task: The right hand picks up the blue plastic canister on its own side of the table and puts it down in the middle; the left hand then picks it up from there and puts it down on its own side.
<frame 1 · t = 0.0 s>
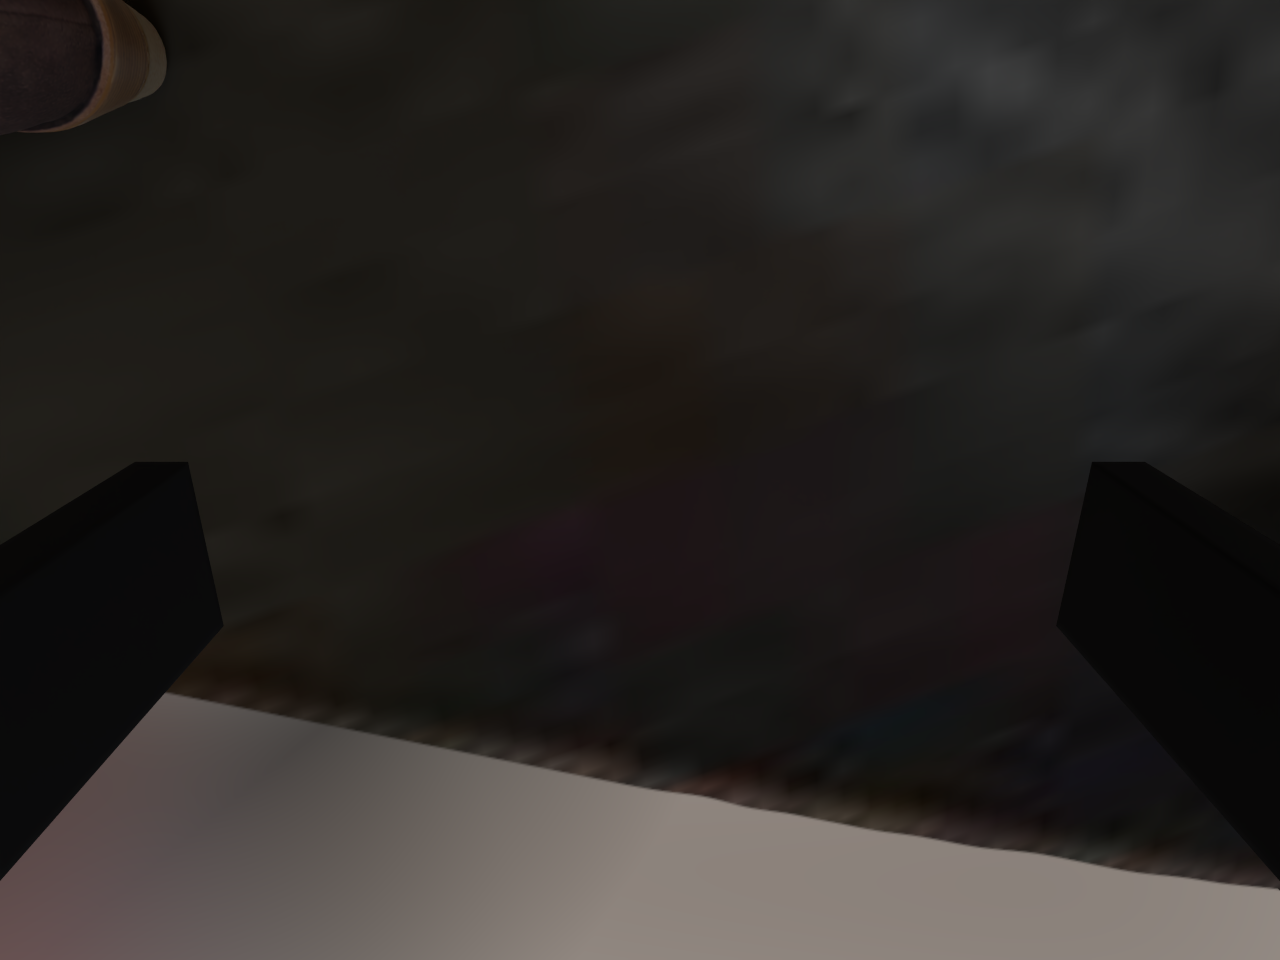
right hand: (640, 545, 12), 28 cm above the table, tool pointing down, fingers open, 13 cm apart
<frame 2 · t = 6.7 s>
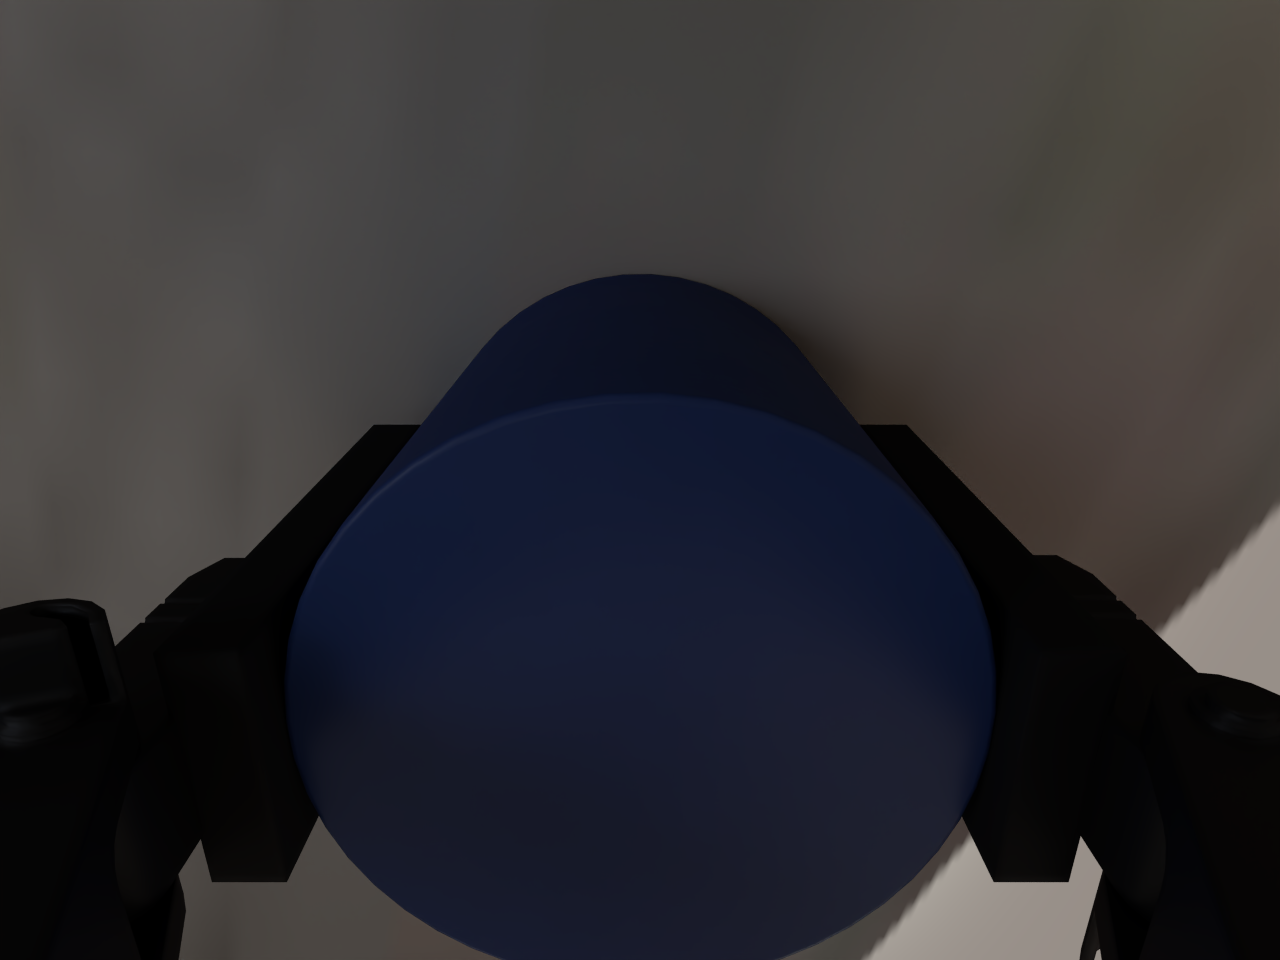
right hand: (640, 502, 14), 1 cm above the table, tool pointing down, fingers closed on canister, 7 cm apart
canister: (640, 472, 15), on the table, touching right hand
when the right hand's fingers open (2 cm above the table, at t = 11.7 s): canister drops 1 cm, on the table.
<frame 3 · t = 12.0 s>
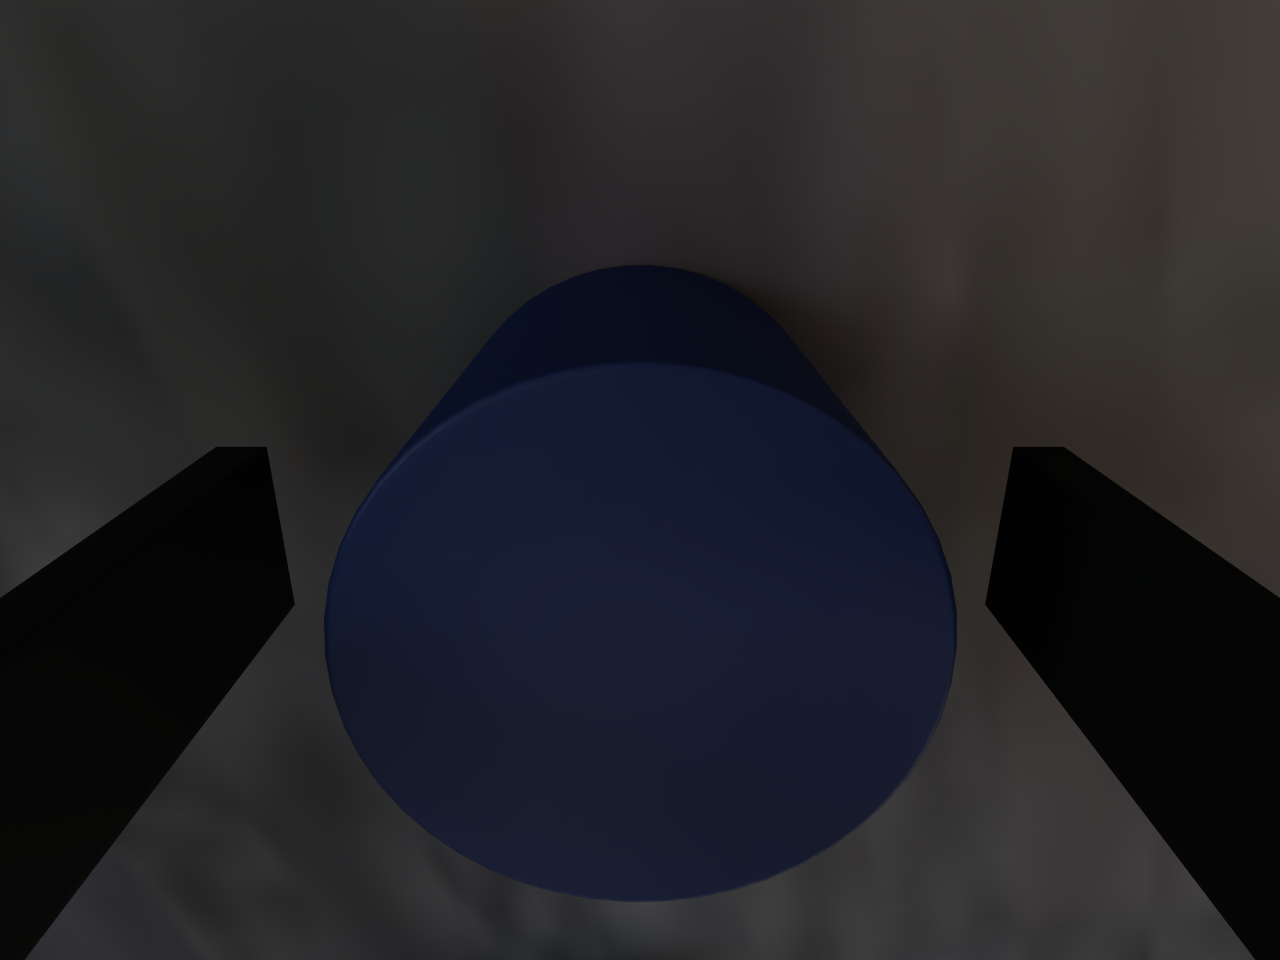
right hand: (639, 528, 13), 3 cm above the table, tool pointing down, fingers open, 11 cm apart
canister: (640, 451, 16), on the table
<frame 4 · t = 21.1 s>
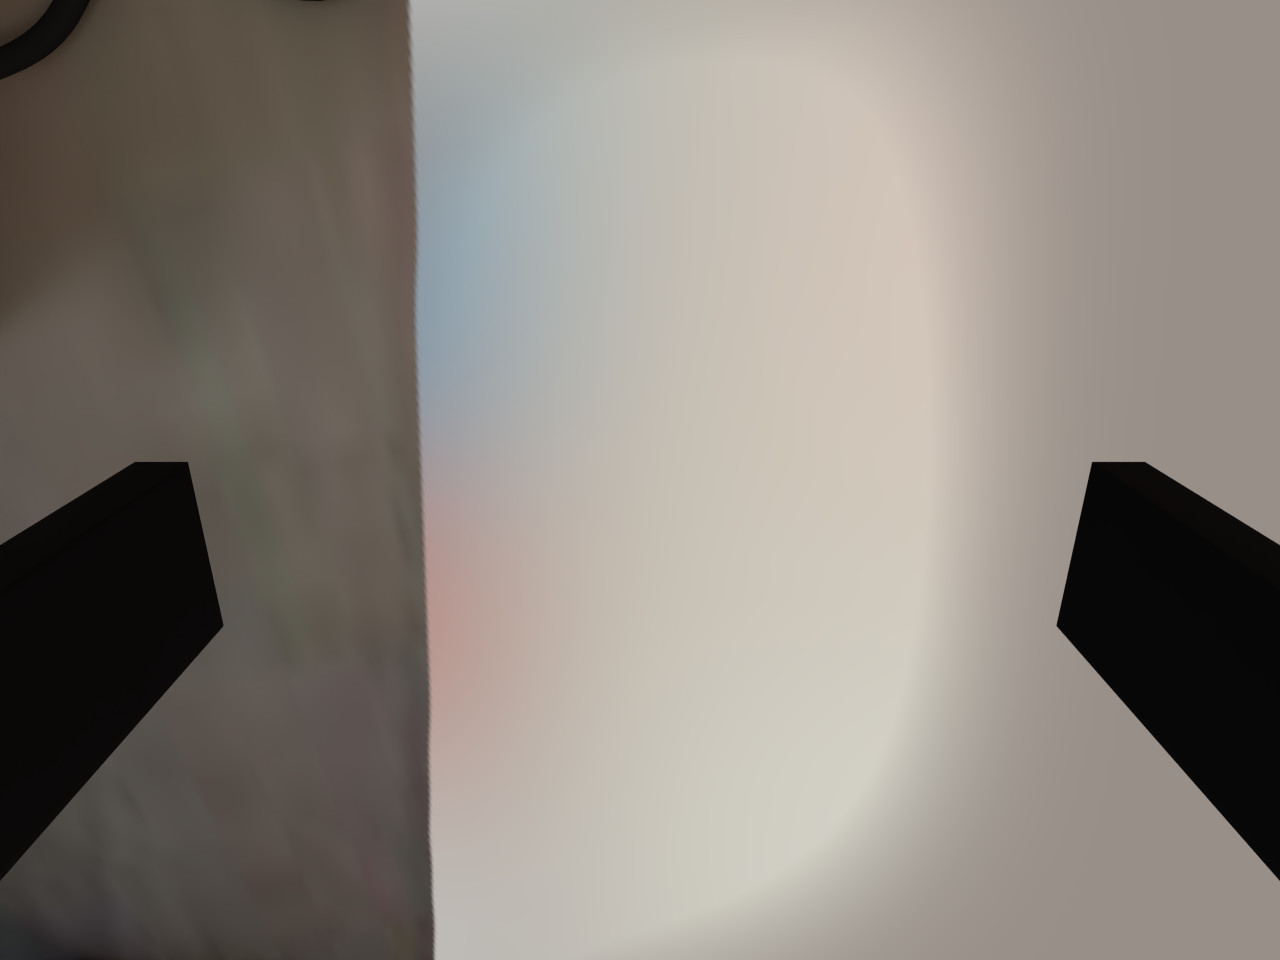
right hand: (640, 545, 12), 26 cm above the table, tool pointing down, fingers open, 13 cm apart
when the left hand's fingers open (2 cm above the table, at t = 29.2 s): canister drops 1 cm, on the table.
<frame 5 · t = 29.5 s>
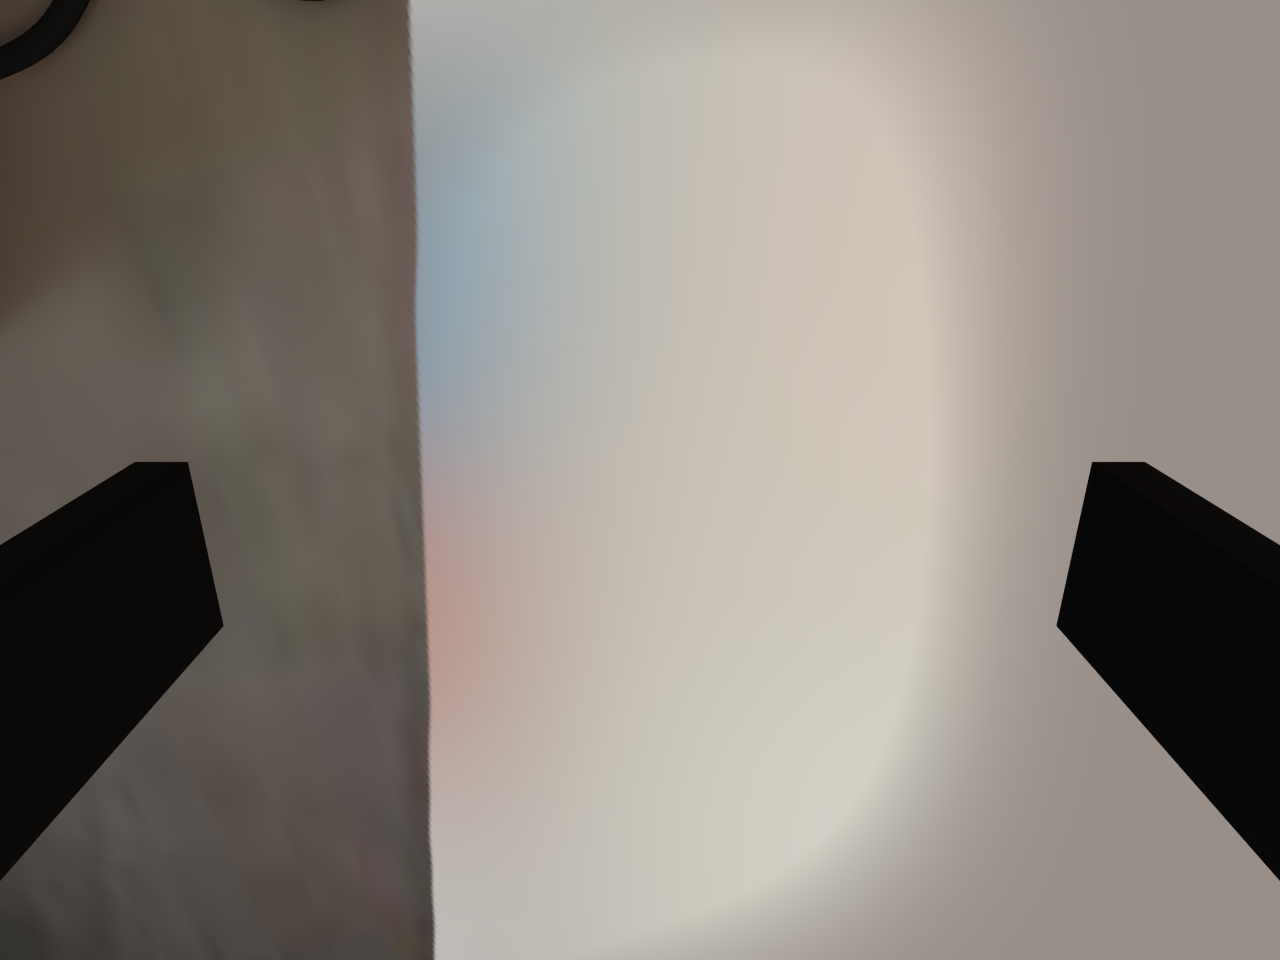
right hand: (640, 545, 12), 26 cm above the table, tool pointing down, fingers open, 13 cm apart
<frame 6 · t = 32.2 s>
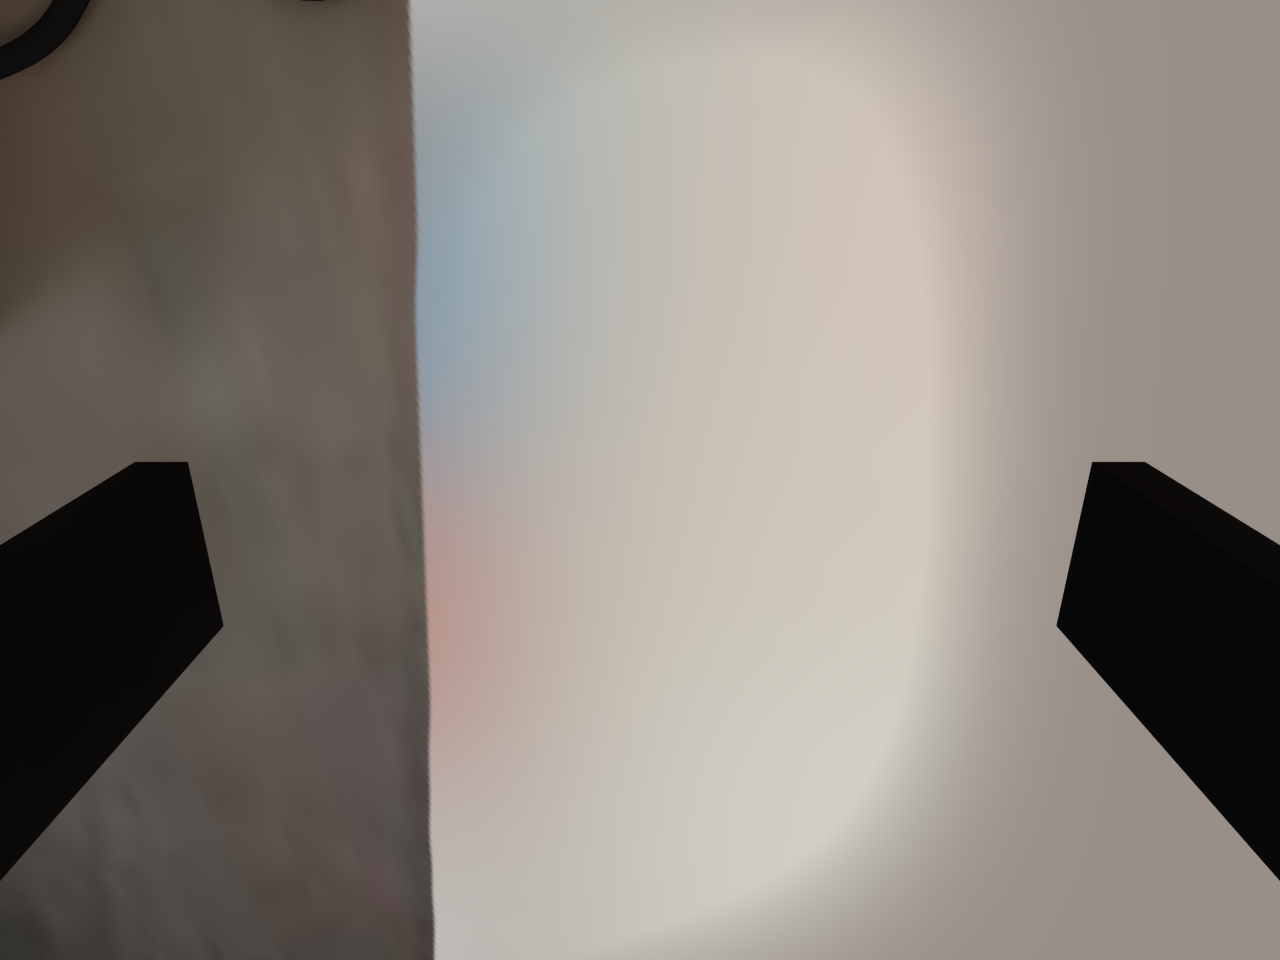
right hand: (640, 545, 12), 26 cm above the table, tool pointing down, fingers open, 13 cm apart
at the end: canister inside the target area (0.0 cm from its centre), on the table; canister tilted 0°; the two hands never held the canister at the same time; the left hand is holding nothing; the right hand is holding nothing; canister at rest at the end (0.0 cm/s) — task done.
